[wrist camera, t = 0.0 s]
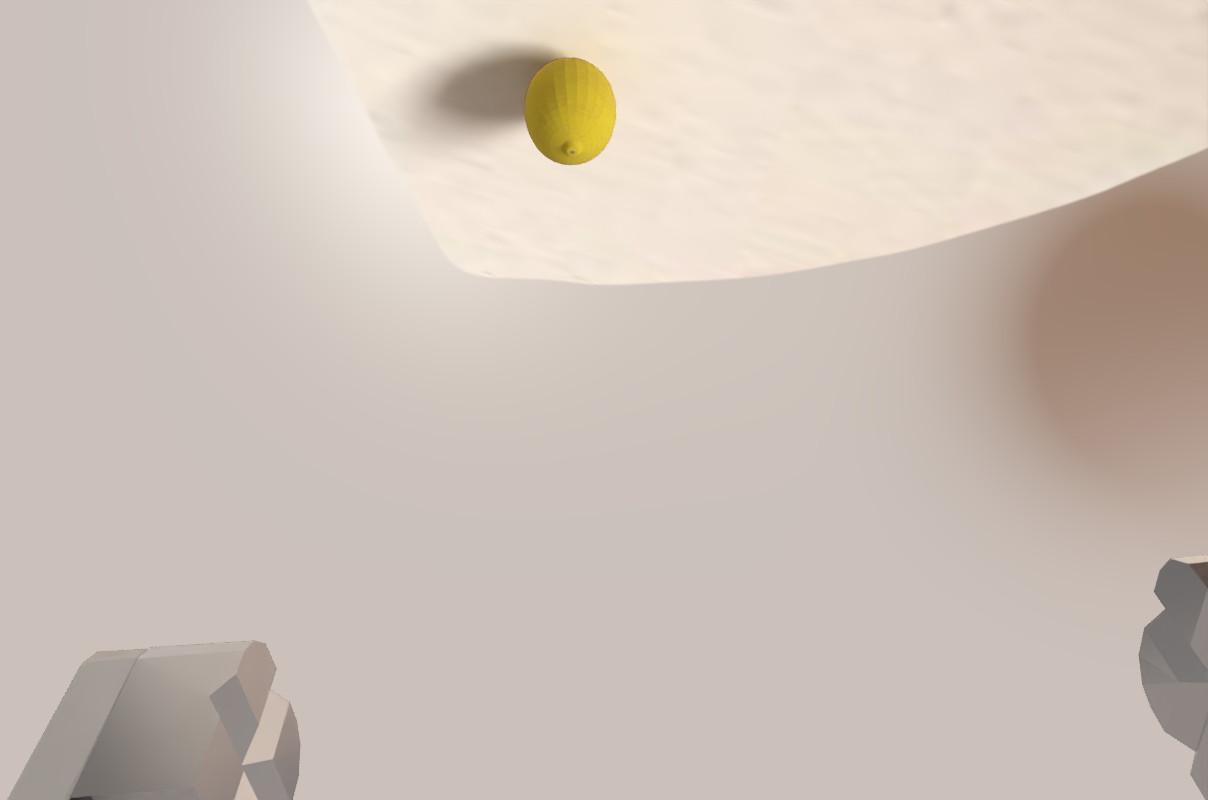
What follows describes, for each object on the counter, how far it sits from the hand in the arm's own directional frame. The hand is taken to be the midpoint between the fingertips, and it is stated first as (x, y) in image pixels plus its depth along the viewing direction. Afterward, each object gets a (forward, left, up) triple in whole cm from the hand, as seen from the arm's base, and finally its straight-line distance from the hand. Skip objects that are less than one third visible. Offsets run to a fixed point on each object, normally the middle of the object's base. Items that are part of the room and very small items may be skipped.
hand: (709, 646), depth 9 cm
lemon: (+23, +16, -52) cm, 59 cm away
